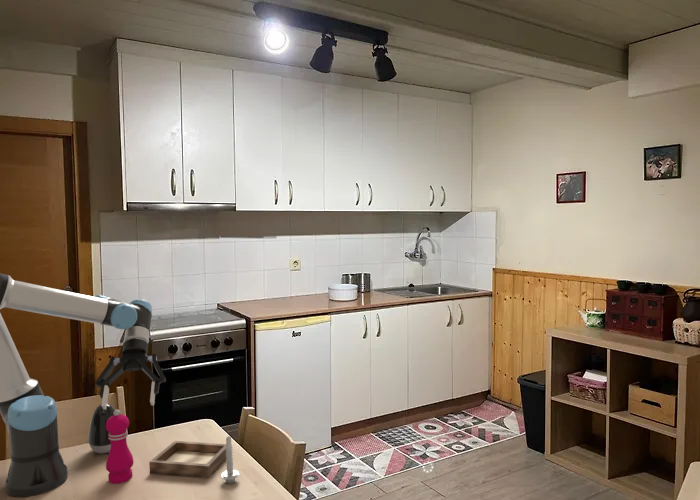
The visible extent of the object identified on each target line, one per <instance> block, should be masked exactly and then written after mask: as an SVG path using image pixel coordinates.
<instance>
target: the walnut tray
mask: <svg viewBox="0 0 700 500" xmlns="http://www.w3.org/2000/svg"><path fill="white" fill-rule="evenodd" d="M226 455H227V454H226V443H214V442H212V443H210V442H197V441H196V442H195V441H183V440H182V441H181V440H174V441H173V442H172V443H171V444H169V445H168V446H167V447H165V448H164V449H163V450H162V451H161V452H160V453H158V454H157V455H156V456H155V457H153V458H152V459H151V460H150V461H148V463H149V474H150V475H162V476H175V477H188V478H198V479H210V478H211V477H212V476H213V475H214V473H216V471H218V469H219V468H220V467H222V465H223V464H224V463H225V462H226V461H227V460H226V459H227V458H226V457H227V456H226Z"/></svg>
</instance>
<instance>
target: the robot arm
mask: <svg viewBox="0 0 700 500" xmlns="http://www.w3.org/2000/svg"><path fill="white" fill-rule="evenodd" d="M4 308H6V309H7V308H8V309H12V310H19V311H22V312H23V311H25V312H30V313H35V314H41V315H46V316H47V315H48V316H52V317H59V318H64V319H69V320H75V321H81V322H86V323H87V322H88V323H92V324H97V325H98V324H99V325H101V326H102V325H103V326H108V327H113V328H115V329H118V330H124V336H123V337H124V338H123V344H122V350H121V351H122V352H121V356H120V357H115V356H111V357H110V359H109V361H108V363H107V364H106V366H105V368H104V369H103V370H102V372H101V373H100V374H99V376H98V377H97V379H96V380H95V381H94V382H95V383H94V384H95V385H96V387H97V388H100V391H99V396H100V399H102V401H101V404H102V405H101V406H102V408H103V410H106V407H107V403H108V402H109V401H108V400H109V394H110V388H109V386H111V384H113V383H114V382H115V381H116V380H117V379H118V378H119V377H120V376H122V375H123V374H125V372H132V371H134V372H136V371H137V372H139V371H140V370H141V371H142V372H143V373H145V375H147V376H148V378H149V379H150V380H151V385H150V386H151V387H150V388H151V390H150V397H149V403H150V406H155V402H156V401H155V400H156V395H159V392H160V384H163V383H166V382H167V380H166V376H165V374H164V372H163V370H162V368H161V366H160V364H159V363H158V357H157V354H156V353H152V355H148V351H149V350H148V349H149V342H150V341H149V340H150V331H151V330H150V329H151V323H152V317H153V315H152V314H153V307H152V304H151V303H150V302H149V301H148V300H147V299H146V300H145V299H135V300H132V301H130V303H129V302H125V301H123V300H119V299H116V298H113V297H109V296H107V295H103V294H96V295H95V296H91V295H86V294H81V293H77V292H72V291H68V290H63V289H58V288H54V287H53V288H52V287H48V286H43V285H39V284H34V283H29V282H25V281H20V280H14V279H13V278H12V277H11V275H9V274H5V273H1V272H0V310H2V309H4ZM148 362H150V363H152V364H153V367H154V368H155V371H156V372H157V374H158V376H159V377H157V375H156V374H155V373H154V372H153V371H152V370H151V369H150V368H149V367H148V366H147V365H146V364H147V363H148ZM119 363H120V364H119ZM118 364H119V365H118ZM117 365H118V366H117ZM115 366H117V368H115ZM114 369H115V370H114ZM112 371H113V372H112ZM0 416H1V418H2V421H3V422H4V424H5V427H6V430H7V431H8V432H7V433H8V436H9V437H8V438H9V447H10V465H9V468H8V472H7V477H6V479H5V484H4V485H5V489H4V490H5V493H6V494H7V495H8V496H12V497H16V496H24V497H30V496H31V495H32V496H36V495H40V494H43V493H46V492H49V491H51V490H53V489H56V488H58V487H60V486H61V485H62V484H63V483H65V482H66V480H67V479H68V477H69V475H68V474H69V473H68V467H67V465H66V464H65V463H64V458H63V457H62V455H61V452H60V442H59V429H58V428H59V426H58V408H57V403H56V401H55V399H54V398H52V397H50V396H49V395H45V394H44V391H43V390H42V388H41V386H40V383H39V381H38V380H37V379H35V378H34V379H33V378H31V377H30V375H29V373H28V371H27V369H26V367H25V365H24V362H23V359H22V358H21V356H20V353H19V351H18V349H17V347H16V344H15V342H14V340H13V338H12V336H11V333H10V332H9V329H8V327H7V325H6V322H5V320H4V317H3V316H2V314H1V312H0Z"/></svg>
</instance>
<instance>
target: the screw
mask: <svg viewBox="0 0 700 500" xmlns="http://www.w3.org/2000/svg"><path fill="white" fill-rule="evenodd" d="M225 442H226V443H225V444H226V454H227V455H226V456H227V457H226V458H227V459H226V460H225V462H226V463H225V464H226V470H225V471H223V472H222V473H221V476H220V477H221V479H223V480H225V483H226V484H229V485H231V484H235V483H236V478H239V476H240V472H239V471H238V470H237V469H234V459H233V458H234V457H233V456H234V455H233V452H234V451H233V449H234V448H233V444H232V437H231V436H226V440H225Z"/></svg>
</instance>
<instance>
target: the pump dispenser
mask: <svg viewBox="0 0 700 500" xmlns="http://www.w3.org/2000/svg"><path fill="white" fill-rule="evenodd" d="M101 405H102V403H101V404H99V405H97V406H96V408H95V409H94V411H93V414H92V416H91V419H90V423H89V427H88V428H89V429H88V435H87V443H88V445H89V447H90V448H91V450H92V451H93V452H95V453H96V454H100V455H101V454H103V455H104V454H109V452H110V448H111V441H110V439H109V435H108V434H109V433H110V432H108V431H107V429H106V422H107V420H108V419H109V418H110V417H111V416H113V415H114V411H115V410H116V409H115V407H114V406H113V405H112V404H110V403H108V402H107V407H106V410H103V408H102V406H101Z"/></svg>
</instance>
